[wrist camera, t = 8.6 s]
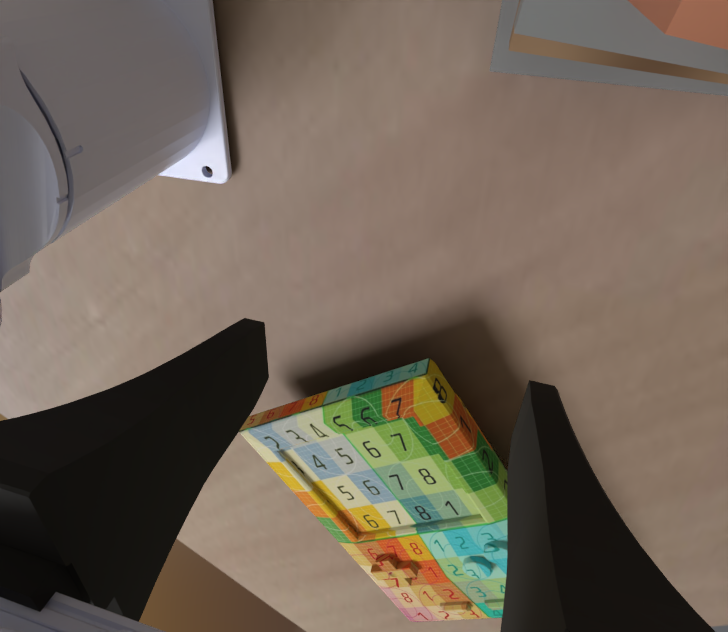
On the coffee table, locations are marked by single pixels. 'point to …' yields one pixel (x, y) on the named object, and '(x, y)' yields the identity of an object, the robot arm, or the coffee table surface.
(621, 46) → the tower top slab
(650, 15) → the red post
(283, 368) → the coffee table surface
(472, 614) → the puzzle game
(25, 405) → the coffee table surface
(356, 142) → the coffee table surface
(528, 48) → the tower middle slab
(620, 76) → the tower base slab
